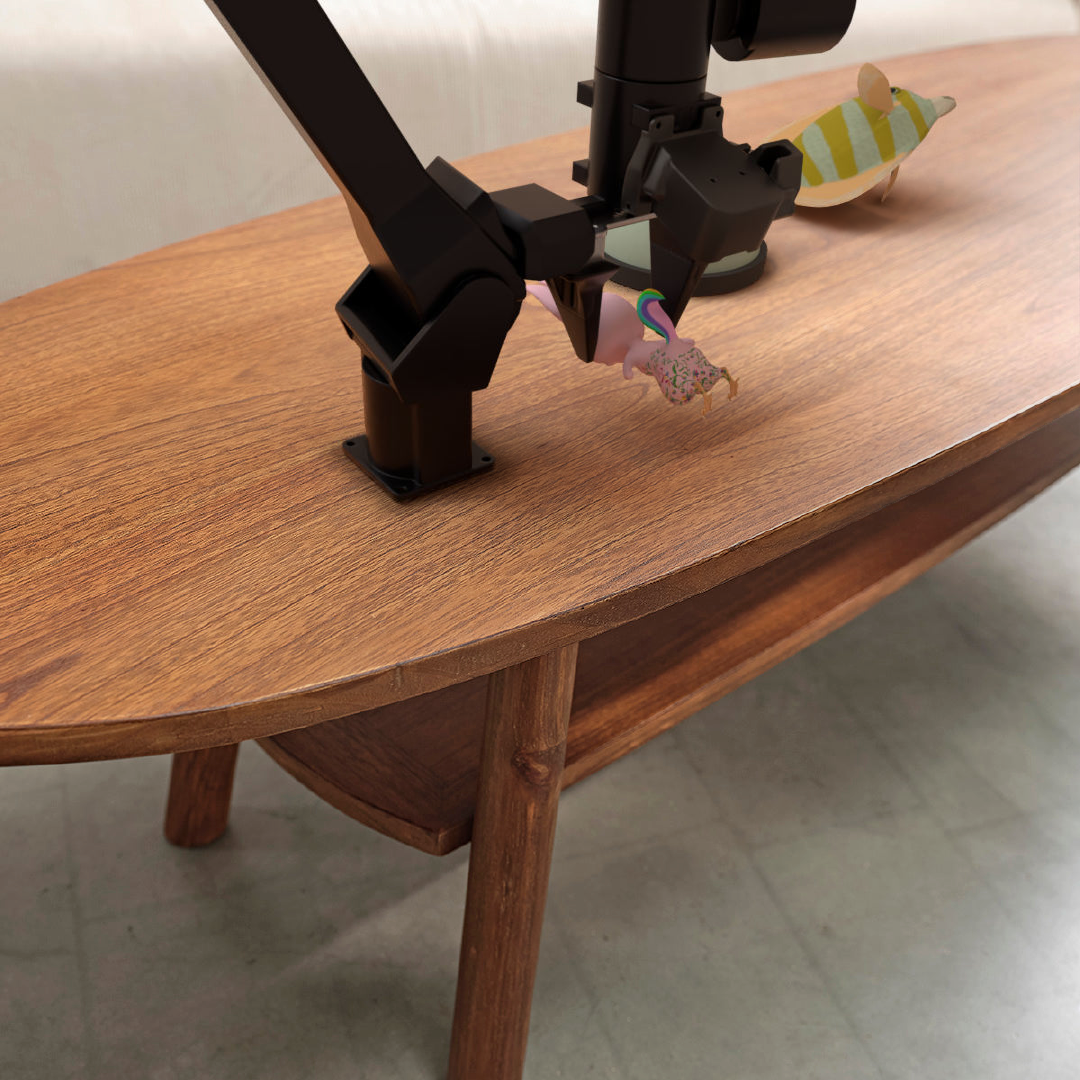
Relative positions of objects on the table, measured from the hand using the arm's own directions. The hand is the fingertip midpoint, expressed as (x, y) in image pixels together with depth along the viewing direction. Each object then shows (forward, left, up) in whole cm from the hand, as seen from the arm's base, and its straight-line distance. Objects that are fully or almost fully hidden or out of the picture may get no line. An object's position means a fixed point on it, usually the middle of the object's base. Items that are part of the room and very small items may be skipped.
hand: (624, 347), depth 66 cm
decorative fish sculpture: (+19, -40, -5) cm, 44 cm away
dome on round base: (+16, -19, -10) cm, 27 cm away
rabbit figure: (0, 0, -1) cm, 1 cm away
